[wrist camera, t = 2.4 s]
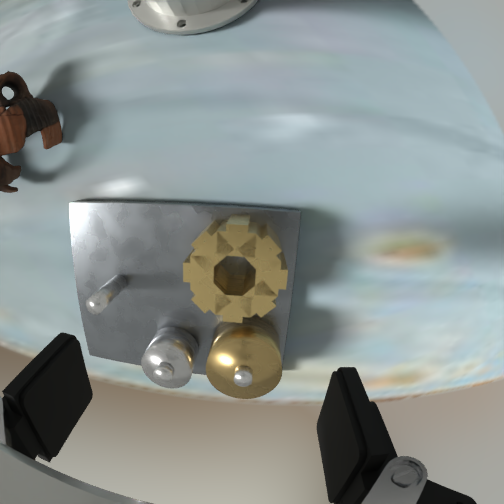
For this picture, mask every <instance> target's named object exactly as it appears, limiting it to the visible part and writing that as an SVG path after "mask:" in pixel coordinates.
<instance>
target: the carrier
mask: <svg viewBox="0 0 504 504" xmlns="http://www.w3.org/2000/svg"><path fill="white" fill-rule="evenodd" d="M232 214H241V215H250V222H257V223H258V224H259V225H260V226H261V227H263V226H264V225H265V224H266V223H267V224H268V225H269V226H270V228H271V229H272V230H273V231H274V232H275V233H276V234H277V236H278V237H279V241H280V245H281V249H282V251H281V252H280V253H284V256H285V260H286V264H287V268H288V276H287V285H286V290H284V289H279V290H278V297H277V298H276V307H275V308H273V309H272V310H271V311H269V312H268V313H267V314H265V315H264V316H263V317H260V316H259V315H258V314H257V313H256V314H254V315H253V316H252V317H243V321H242V323H236V322H223V315H215V314H214V313H213V312H212V311H211V310H208V311H207V312H206V313H204V312H203V311H202V310H201V309H200V308H199V307H198V306H197V305H196V304H195V303H194V302H193V301H192V300H191V299H192V296H193V294H194V293H193V292H192V291H191V290H190V283H189V282H183V262H184V261H185V259H186V258H187V257H188V256H189V254H190V253H191V252H192V250H193V249H194V247H193V246H192V245H191V244H192V243H193V242H194V240H195V239H196V238H197V237H198V236H199V234H200V233H201V232H202V231H203V230H204V229H205V228H206V227H208V226H209V225H210V224H211V223H212V222H213V221H214V220H216V221H217V222H218V224H221V223H222V222H223V221H224V220H229V218H230V216H231V215H232ZM69 215H70V232H71V244H72V255H73V264H74V272H75V280H76V287H77V293H78V300H79V305H80V311H81V316H82V322H83V327H84V332H85V336H86V341H87V345H88V349H89V354H90V355H92V356H97V357H101V358H106V359H110V360H115V361H120V362H125V363H130V364H136V365H141V366H142V369H143V371H144V373H145V374H146V376H147V377H148V378H149V379H150V380H151V381H153V382H154V383H156V384H158V385H160V386H162V387H166V388H179V387H182V386H184V385H186V384H187V383H188V382H189V380H190V378H191V375H192V373H195V374H203V375H207V377H208V379H209V381H210V383H211V384H212V385H213V386H214V387H215V388H216V389H217V390H219V391H220V392H222V393H223V394H226V395H228V396H231V397H235V398H241V399H251V398H257V397H260V396H263V395H265V394H267V393H269V392H270V391H272V390H273V389H274V388H275V387H276V386H277V385H278V383H279V381H280V379H281V376H282V364H283V357H284V350H285V343H286V336H287V329H288V322H289V314H290V306H291V299H292V290H293V282H294V274H295V265H296V256H297V247H298V237H299V227H300V217H301V212H300V211H299V210H294V209H282V208H269V207H254V206H239V205H222V204H203V203H181V202H153V201H103V200H77V201H73V202H70V203H69ZM221 265H222V266H223V267H224V268H225V269H226V270H227V271H228V272H229V273H230V274H231V275H244V276H245V275H246V274H248V273H249V272H250V271H251V270H252V269H254V267H253V266H252V265H251V264H250V262H249V261H248V260H247V259H246V258H245V257H238V256H226V257H225V258H223V259H222V260H221Z"/></svg>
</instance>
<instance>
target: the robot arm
mask: <svg viewBox="0 0 504 504" xmlns="http://www.w3.org/2000/svg"><path fill="white" fill-rule="evenodd" d="M257 1H258V0H128V6H129V8H130V10H131V12H132V14H133V15H134V16H135V17H136V19H137V20H138V21H139V22H141V23H142V24H143V25H144V26H146V27H147V28H150V29H152V30H154V31H156V32H160V33H164V34H172V35H188V34H197V33H202V32H207V31H210V30H213V29H216V28H219V27H222V26H224V25H226V24H228V23H230V22H233V21H234V20H236V19H237V18H239V17H241V16H242V15H244V14H245V13H246V12H247V11H248V10H249V9H251V8H252V7H253V6H254V5H255V3H256V2H257ZM243 2H246V3H243ZM183 26H184V27H183ZM2 392H3V394H4V397H3V398H1V397H0V504H153V503H148V502H144V501H141V500H137V499H133V498H129V497H126V496H123V495H119V494H116V493H113V492H110V491H107V490H104V489H101V488H98V487H96V486H93V485H90V484H87V483H85V482H82V481H79V480H77V479H75V478H72V477H70V476H67V475H65V474H63V473H60V472H58V471H56V470H54V469H51V468H49V467H47V466H45V465H43V464H41V463H39V462H37V461H35V458H36V456H37V455H38V457H40V458H41V459H43V460H46V461H48V462H50V461H51V459H52V458H53V457H56V456H57V455H58V453H59V451H60V450H61V448H62V446H63V444H64V443H65V441H66V440H67V438H68V436H69V435H70V433H71V431H72V429H73V428H74V427H75V425H76V423H77V422H78V420H79V418H80V417H81V415H82V414H83V412H84V411H85V409H86V408H87V406H88V404H89V403H90V401H91V399H92V395H93V394H92V389H91V385H90V382H89V378H88V375H87V371H86V367H85V363H84V359H83V355H82V351H81V346H80V343H79V341H78V340H77V339H76V337H75V336H74V335H70V334H66V333H60V334H59V335H58V336H57V337H55V338H54V339H53V340H52V341H51V342H50V343H49V344H48V345H47V346H46V347H45V348H44V349H43V350H42V351H41V352H40V353H39V354H38V355H37V356H36V357H35V358H34V359H33V360H32V361H31V362H30V363H29V364H28V365H27V366H26V367H25V368H24V369H23V370H22V371H21V372H20V373H19V374H18V375H17V376H16V377H15V379H14V380H13V381H12V382H11V383H10V384H9V385H8V386H7V387H6V388H5V389H4V390H3V391H2ZM317 434H318V440H319V445H320V451H321V457H322V463H323V468H324V475H325V481H326V487H327V493H328V499H329V502H330V503H334V504H476V502H475V501H474V500H473V499H472V498H471V497H469V496H467V495H464V494H462V493H459V492H456V491H454V490H451V489H449V488H446V487H444V486H441V485H439V484H437V483H434V482H432V481H430V480H427V476H428V475H427V469H426V468H425V466H424V465H423V464H422V463H421V462H420V461H419V460H417V459H415V458H412V457H409V456H400V457H398V456H397V454H396V451H395V449H394V446H393V444H392V441H391V438H390V436H389V434H388V431H387V429H386V426H385V424H384V421H383V419H382V416H381V414H380V412H379V409H378V407H377V405H376V403H375V402H370V401H369V399H368V396H367V394H366V391H365V389H364V386H363V384H362V382H361V379H360V377H359V374H358V372H357V370H356V368H355V367H340V368H338V370H337V371H334V372H333V373H332V376H331V379H330V383H329V386H328V390H327V393H326V396H325V400H324V403H323V406H322V409H321V412H320V415H319V419H318V422H317Z"/></svg>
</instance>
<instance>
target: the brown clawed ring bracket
mask: <svg viewBox="0 0 504 504" xmlns="http://www.w3.org/2000/svg"><path fill="white" fill-rule="evenodd" d="M5 86H6V87H9V88H11V89H12V90H13V91H14V97H13V98H12V99H10V100H7V99H6V98H5V97H4V96H3V94H2V88H3V87H5ZM5 107H9V108H8V109H7V110H6V108H5ZM37 131H41V135H42V139H43V144H44V148H45V149H49V148H51V147H53V146H54V145H57V144H59V143H61V142H62V130H61V125H60V121H59V117H58V114H57V110H56V109H55V106H54V105H53V103H52V102H50V101H48V100H43V99H38V98H33V96H32V95H31V94H30V93H29V90H28V87H27V85H26V83H25V81H24V80H23V78H22V77H21V76H20V75H18V74H17V73H14V72H9V71H8V72H7V73H5V74H1V75H0V191H3V192H7V193H12V192H17V191H18V188H16V187H11V186H9V185H8V184H10V183H12V182H13V180H14V179H17V178H18V177H19V176H20V173H21V166H13V165H12V164H9V163H8V162H6V161H5V160H4V159H3V158H2V157H1V156H2V155H6V154H10V153H16V152H18V151H19V150H20V149H21V148H22V147H23V146H24V143H25V139H26V137H29V136H30V135H32V134H33V133H35V132H37Z"/></svg>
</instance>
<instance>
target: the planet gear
mask: <svg viewBox="0 0 504 504" xmlns="http://www.w3.org/2000/svg"><path fill="white" fill-rule="evenodd" d="M191 245H192V246H193V247H194V249H193V250H192V252H191V253H190V254H189V256H188V257H187V258H186V259H185V261H184V262H183V282H189V283H190V290H191V291H192V292H193V293H194V294H193V296H192V299H191V300H192V301H193V302H194V303H195V304H196V305H197V306H198V307H199V308H200V309H201V310H202V311H203V312H204V313H206V312H207V311H208V310H211V311H212V312H213V313H214V314H215V315H223V322H236V323H242V321H243V317H252V316H253V315H254V314H256V313H257V314H258V315H259V316H260V317H263V316H264V315H265V314H267V313H268V312H269V311H271V310H272V309H273V308H275V307H276V298H277V297H278V290H279V289H284V290H286V285H287V276H288V268H287V264H286V260H285V256H284V253H280V252H281V251H282V249H281V245H280V241H279V237H278V236H277V234H276V233H275V232H274V231H273V230H272V229H271V228H270V226H269V225H268V224H267V223H266V224H265V225H264V226H263V227H261V226H260V225H259V224H258V223H257V222H250V215H241V214H232V215H231V216H230V218H229V220H224V221H223V222H222V223H221V224H218V222H217V221H216V220H214V221H213V222H212V223H211V224H210V225H209V226H208V227H206V228H205V229H204V230H203V231H202V232H201V233H200V234H199V236H198V237H197V238H196V239H195V240H194V242H193V243H192V244H191ZM226 256H238V257H245V258H246V259H247V260H248V261H249V262H250V264H251V265H252V266H253V267H254V269H252V270H251V271H250V272H249V273H248V274H246V275H245V276H244V275H231V274H230V273H229V272H228V271H227V270H226V269H225V268H224V267H223V266H222V265H221V260H222V259H223V258H225V257H226Z"/></svg>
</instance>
